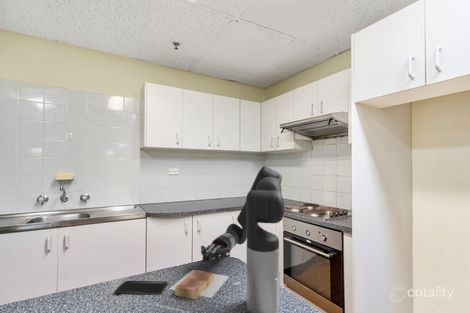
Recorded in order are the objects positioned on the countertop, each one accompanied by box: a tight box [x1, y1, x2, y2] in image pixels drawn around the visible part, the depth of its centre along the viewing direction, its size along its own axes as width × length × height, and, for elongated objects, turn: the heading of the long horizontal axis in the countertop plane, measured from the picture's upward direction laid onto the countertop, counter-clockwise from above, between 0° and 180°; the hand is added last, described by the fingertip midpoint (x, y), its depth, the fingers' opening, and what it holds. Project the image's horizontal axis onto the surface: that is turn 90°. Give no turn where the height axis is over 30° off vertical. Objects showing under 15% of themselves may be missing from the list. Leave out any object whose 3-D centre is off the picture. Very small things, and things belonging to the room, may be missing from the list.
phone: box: [114, 280, 169, 296], centre depth 79 cm, size 8×1×15 cm
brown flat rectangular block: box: [174, 269, 215, 301], centre depth 80 cm, size 7×2×13 cm
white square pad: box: [169, 269, 230, 299], centre depth 83 cm, size 15×15×1 cm
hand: (205, 259), depth 86 cm, fingers closed
